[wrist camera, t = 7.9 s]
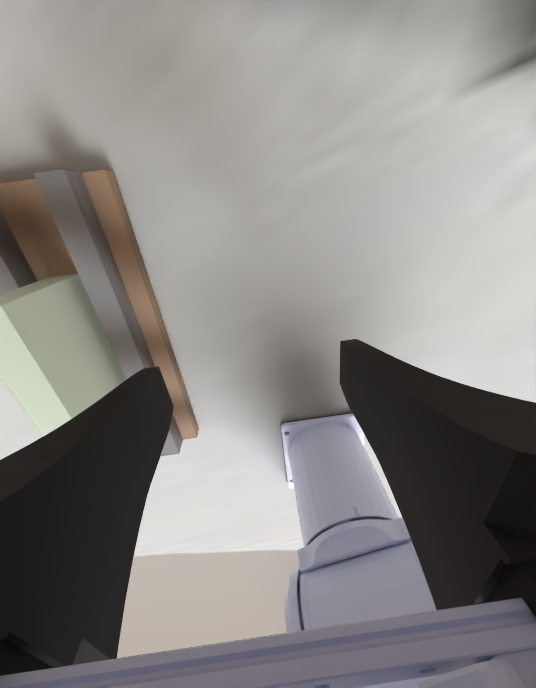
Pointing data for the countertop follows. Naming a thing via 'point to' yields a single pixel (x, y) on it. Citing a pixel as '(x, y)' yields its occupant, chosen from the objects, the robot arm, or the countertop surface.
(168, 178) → the countertop surface
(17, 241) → the track board
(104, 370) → the door panel
